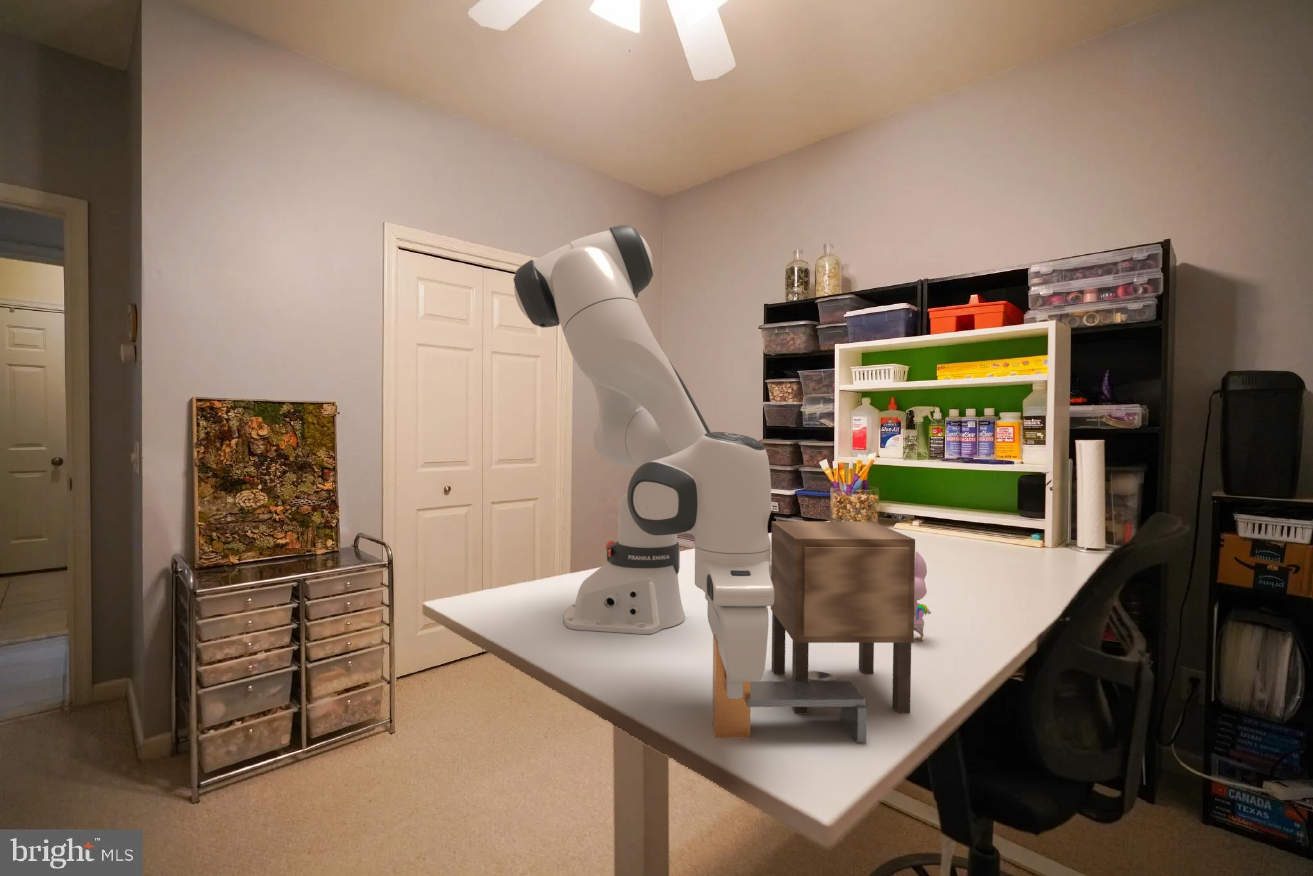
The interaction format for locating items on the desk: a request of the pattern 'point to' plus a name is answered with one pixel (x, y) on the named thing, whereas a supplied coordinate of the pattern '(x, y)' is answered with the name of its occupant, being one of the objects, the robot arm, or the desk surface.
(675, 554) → the robot arm
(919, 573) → the rabbit figure
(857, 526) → the cabinet
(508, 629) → the desk surface
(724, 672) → the tan and grey bench
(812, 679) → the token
